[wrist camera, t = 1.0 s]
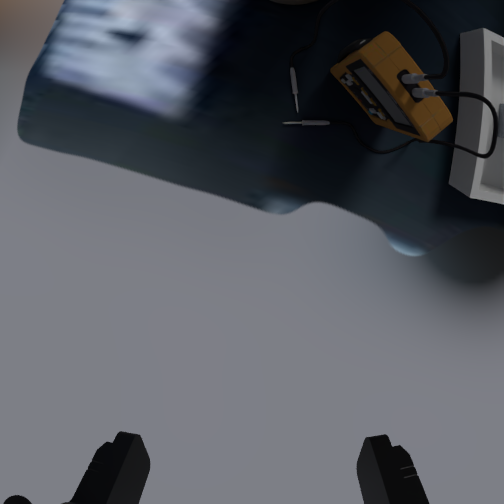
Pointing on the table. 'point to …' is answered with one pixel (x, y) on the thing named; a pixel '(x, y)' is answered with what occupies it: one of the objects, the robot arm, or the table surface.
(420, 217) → the table surface
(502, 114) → the block
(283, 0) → the pillar candle
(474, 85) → the white tray
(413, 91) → the multimeter
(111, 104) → the table surface
